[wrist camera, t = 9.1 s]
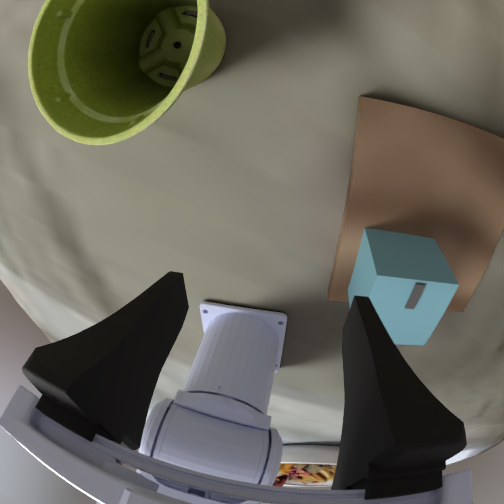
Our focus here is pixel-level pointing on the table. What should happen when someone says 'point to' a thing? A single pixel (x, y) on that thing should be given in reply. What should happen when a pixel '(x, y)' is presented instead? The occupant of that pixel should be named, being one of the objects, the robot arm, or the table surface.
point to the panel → (423, 190)
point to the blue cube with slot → (403, 283)
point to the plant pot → (118, 63)
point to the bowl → (307, 465)
